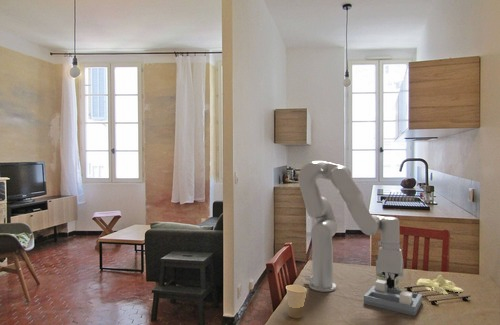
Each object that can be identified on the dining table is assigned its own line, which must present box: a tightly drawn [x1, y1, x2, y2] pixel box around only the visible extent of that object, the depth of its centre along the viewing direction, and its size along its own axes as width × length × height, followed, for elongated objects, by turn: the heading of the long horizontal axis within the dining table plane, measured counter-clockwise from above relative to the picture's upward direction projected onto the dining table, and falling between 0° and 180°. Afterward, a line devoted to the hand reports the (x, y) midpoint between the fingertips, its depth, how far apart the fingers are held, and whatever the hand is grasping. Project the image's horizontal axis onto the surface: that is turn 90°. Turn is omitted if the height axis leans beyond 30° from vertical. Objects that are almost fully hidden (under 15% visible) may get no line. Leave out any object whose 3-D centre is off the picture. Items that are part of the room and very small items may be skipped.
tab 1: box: [374, 279, 387, 292], centre depth 159 cm, size 4×4×5 cm
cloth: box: [416, 274, 464, 295], centre depth 170 cm, size 22×19×6 cm
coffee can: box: [375, 254, 400, 290], centre depth 171 cm, size 10×10×14 cm
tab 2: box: [399, 290, 413, 306], centre depth 145 cm, size 4×4×5 cm
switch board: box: [363, 284, 423, 317], centre depth 152 cm, size 20×15×4 cm
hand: (390, 287), depth 157 cm, fingers closed
